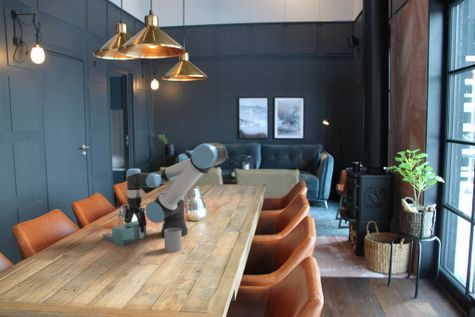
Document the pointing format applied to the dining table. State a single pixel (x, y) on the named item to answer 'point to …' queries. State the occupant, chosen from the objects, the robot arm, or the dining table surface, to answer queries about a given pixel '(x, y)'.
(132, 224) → the block
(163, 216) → the robot arm
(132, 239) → the teal stepped block
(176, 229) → the cup
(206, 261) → the dining table surface
